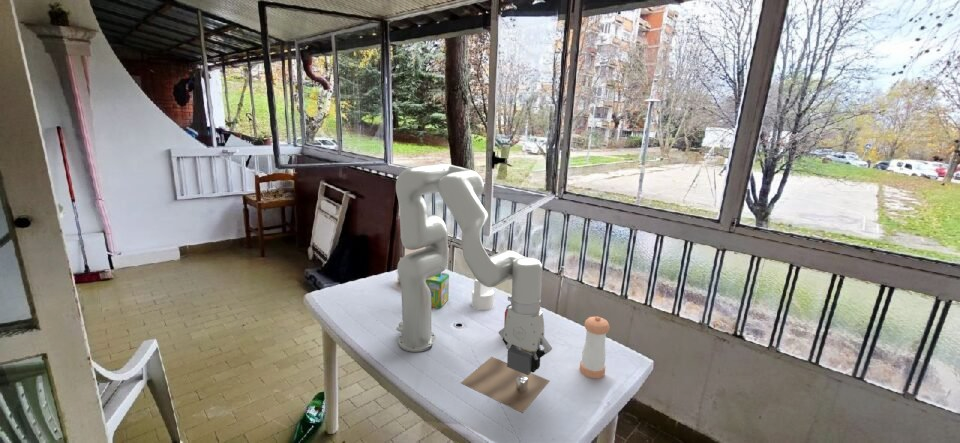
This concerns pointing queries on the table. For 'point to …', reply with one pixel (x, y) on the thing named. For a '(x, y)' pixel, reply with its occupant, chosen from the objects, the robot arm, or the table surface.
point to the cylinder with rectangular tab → (482, 296)
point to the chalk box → (438, 289)
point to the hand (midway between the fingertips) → (523, 364)
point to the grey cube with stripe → (520, 359)
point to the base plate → (504, 384)
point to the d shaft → (521, 383)
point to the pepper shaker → (594, 348)
